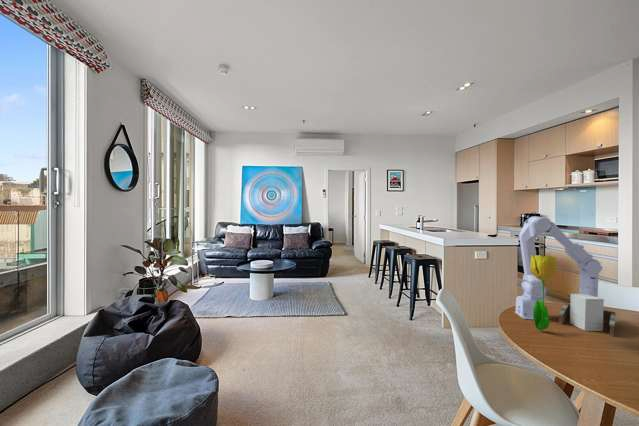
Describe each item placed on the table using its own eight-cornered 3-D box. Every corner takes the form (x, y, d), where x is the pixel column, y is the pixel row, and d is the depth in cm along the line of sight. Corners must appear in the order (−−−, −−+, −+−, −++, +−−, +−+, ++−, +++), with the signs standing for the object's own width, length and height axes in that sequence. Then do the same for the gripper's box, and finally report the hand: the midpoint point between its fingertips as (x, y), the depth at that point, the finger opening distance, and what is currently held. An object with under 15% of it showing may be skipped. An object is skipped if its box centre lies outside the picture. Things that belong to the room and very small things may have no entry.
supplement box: (603, 331, 116) (604, 299, 116) (584, 331, 116) (585, 298, 116) (587, 323, 123) (588, 293, 123) (568, 323, 124) (569, 293, 123)
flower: (559, 337, 110) (562, 256, 109) (535, 335, 112) (537, 255, 111) (547, 327, 119) (549, 253, 118) (524, 326, 120) (526, 252, 120)
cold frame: (564, 313, 135) (564, 302, 135) (615, 324, 123) (615, 312, 123) (558, 323, 123) (558, 311, 123) (614, 336, 111) (614, 323, 111)
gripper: (600, 292, 117) (599, 326, 117) (602, 285, 127) (601, 316, 127) (577, 288, 122) (576, 321, 122) (580, 282, 132) (580, 312, 132)
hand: (587, 318), depth 125 cm, fingers closed
